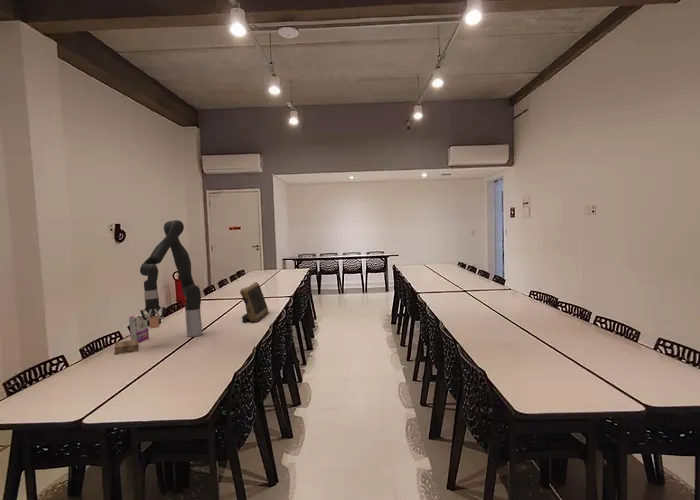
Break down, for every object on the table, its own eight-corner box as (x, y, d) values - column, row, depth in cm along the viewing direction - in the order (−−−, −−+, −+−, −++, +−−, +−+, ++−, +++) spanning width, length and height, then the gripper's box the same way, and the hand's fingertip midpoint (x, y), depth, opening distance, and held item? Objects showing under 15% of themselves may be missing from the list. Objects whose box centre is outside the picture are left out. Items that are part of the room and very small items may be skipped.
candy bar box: (142, 338, 288) (140, 312, 287) (149, 338, 287) (147, 313, 286) (130, 343, 277) (128, 317, 276) (137, 343, 276) (135, 317, 275)
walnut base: (138, 345, 270) (137, 339, 269) (138, 351, 259) (138, 344, 259) (116, 349, 265) (115, 342, 264) (115, 354, 254) (114, 347, 253)
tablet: (260, 323, 318) (258, 288, 316) (240, 323, 318) (238, 288, 316) (269, 313, 350) (267, 281, 348) (251, 313, 350) (249, 282, 348)
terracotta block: (158, 325, 271) (157, 315, 270) (159, 327, 266) (158, 317, 266) (149, 326, 268) (148, 316, 268) (150, 328, 264) (149, 318, 263)
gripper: (164, 294, 272) (166, 322, 274) (138, 298, 266) (141, 326, 267) (165, 296, 265) (167, 324, 267) (138, 300, 259) (141, 328, 261)
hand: (154, 325), depth 267 cm, fingers closed on terracotta block, 5 cm apart
